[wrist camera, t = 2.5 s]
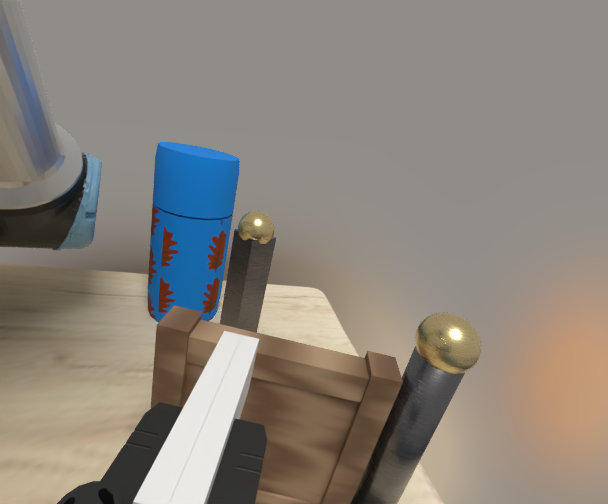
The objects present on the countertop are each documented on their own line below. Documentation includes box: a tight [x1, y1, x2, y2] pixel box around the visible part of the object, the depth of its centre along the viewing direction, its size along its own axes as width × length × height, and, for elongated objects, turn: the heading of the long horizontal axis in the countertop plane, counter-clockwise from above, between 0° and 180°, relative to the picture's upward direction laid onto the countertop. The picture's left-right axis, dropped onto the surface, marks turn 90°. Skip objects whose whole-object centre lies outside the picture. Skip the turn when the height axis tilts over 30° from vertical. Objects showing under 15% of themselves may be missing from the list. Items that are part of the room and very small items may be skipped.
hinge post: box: [350, 312, 481, 504], centre depth 23 cm, size 6×6×22 cm
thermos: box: [148, 142, 239, 322], centre depth 47 cm, size 11×11×25 cm
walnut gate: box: [151, 305, 403, 504], centre depth 23 cm, size 16×2×16 cm, turn 86°
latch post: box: [220, 211, 276, 333], centre depth 35 cm, size 6×6×22 cm
